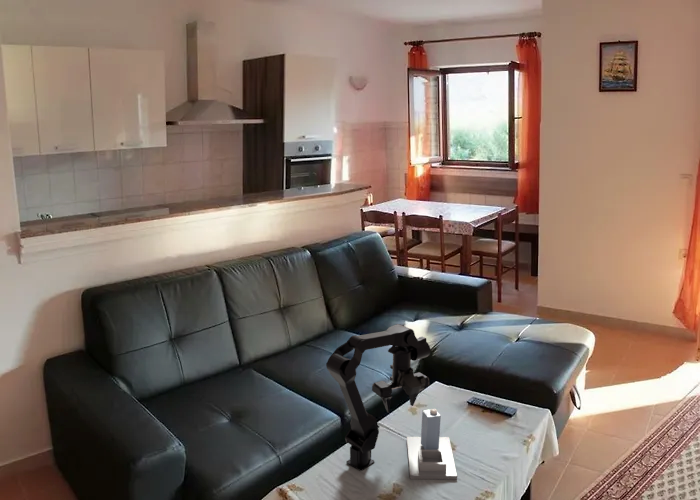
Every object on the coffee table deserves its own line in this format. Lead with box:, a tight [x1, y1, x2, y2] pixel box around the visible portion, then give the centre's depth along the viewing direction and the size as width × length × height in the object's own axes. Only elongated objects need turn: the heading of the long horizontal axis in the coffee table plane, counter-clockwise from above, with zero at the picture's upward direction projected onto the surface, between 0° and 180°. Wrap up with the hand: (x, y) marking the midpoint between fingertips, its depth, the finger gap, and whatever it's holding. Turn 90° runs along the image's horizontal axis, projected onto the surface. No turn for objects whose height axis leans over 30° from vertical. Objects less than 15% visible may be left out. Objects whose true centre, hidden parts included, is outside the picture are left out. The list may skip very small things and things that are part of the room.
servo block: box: [420, 408, 441, 450], centre depth 208 cm, size 4×4×13 cm
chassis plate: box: [406, 436, 458, 480], centre depth 206 cm, size 22×14×4 cm, turn 178°
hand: (400, 408), depth 211 cm, fingers open, 9 cm apart
